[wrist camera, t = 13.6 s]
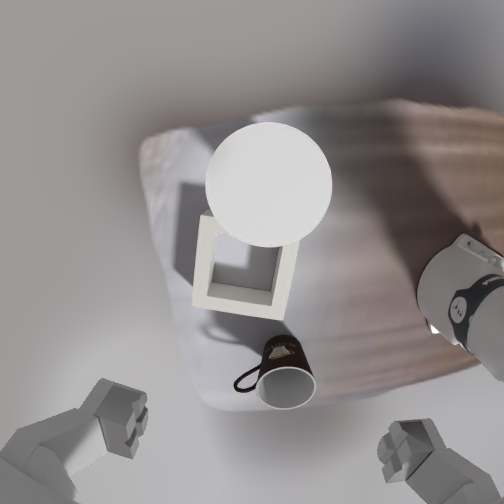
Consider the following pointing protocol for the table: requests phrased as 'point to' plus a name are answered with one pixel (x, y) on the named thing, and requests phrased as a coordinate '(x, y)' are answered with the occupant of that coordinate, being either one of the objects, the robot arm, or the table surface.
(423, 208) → the table surface
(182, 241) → the table surface
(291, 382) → the coffee mug
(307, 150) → the cylindrical container
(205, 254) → the holder
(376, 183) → the table surface
